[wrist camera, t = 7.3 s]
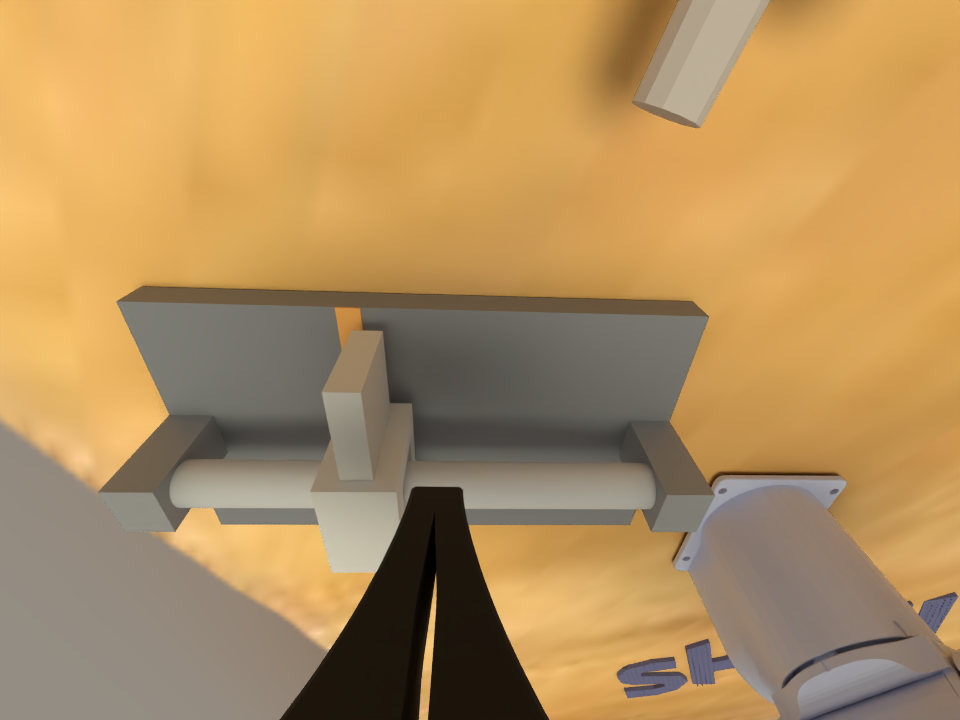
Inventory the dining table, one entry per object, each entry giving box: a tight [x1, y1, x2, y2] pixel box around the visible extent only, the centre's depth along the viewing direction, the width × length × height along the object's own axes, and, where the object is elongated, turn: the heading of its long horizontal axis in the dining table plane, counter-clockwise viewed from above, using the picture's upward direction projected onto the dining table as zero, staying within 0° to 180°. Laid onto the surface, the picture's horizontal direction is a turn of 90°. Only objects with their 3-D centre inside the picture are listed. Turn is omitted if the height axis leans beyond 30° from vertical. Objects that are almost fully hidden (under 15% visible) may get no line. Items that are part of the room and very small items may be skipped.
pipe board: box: [98, 287, 715, 532], centre depth 19 cm, size 14×24×6 cm, turn 88°
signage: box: [617, 592, 958, 698], centre depth 38 cm, size 28×1×10 cm
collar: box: [310, 330, 415, 573], centre depth 17 cm, size 9×3×5 cm, turn 178°
